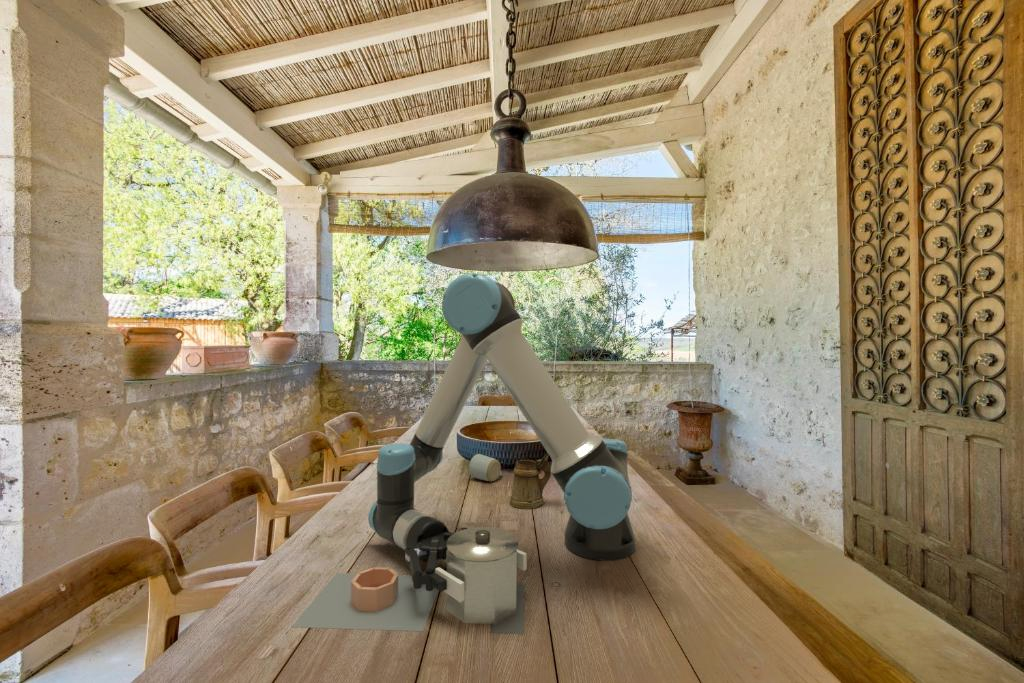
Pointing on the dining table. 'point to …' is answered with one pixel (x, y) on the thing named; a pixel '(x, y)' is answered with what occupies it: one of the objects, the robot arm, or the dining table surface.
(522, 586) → the rubber mat
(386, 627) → the serving board
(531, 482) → the wooden mug
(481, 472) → the ceramic mug
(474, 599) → the stockpot with side handles
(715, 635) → the dining table surface
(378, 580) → the bowl
